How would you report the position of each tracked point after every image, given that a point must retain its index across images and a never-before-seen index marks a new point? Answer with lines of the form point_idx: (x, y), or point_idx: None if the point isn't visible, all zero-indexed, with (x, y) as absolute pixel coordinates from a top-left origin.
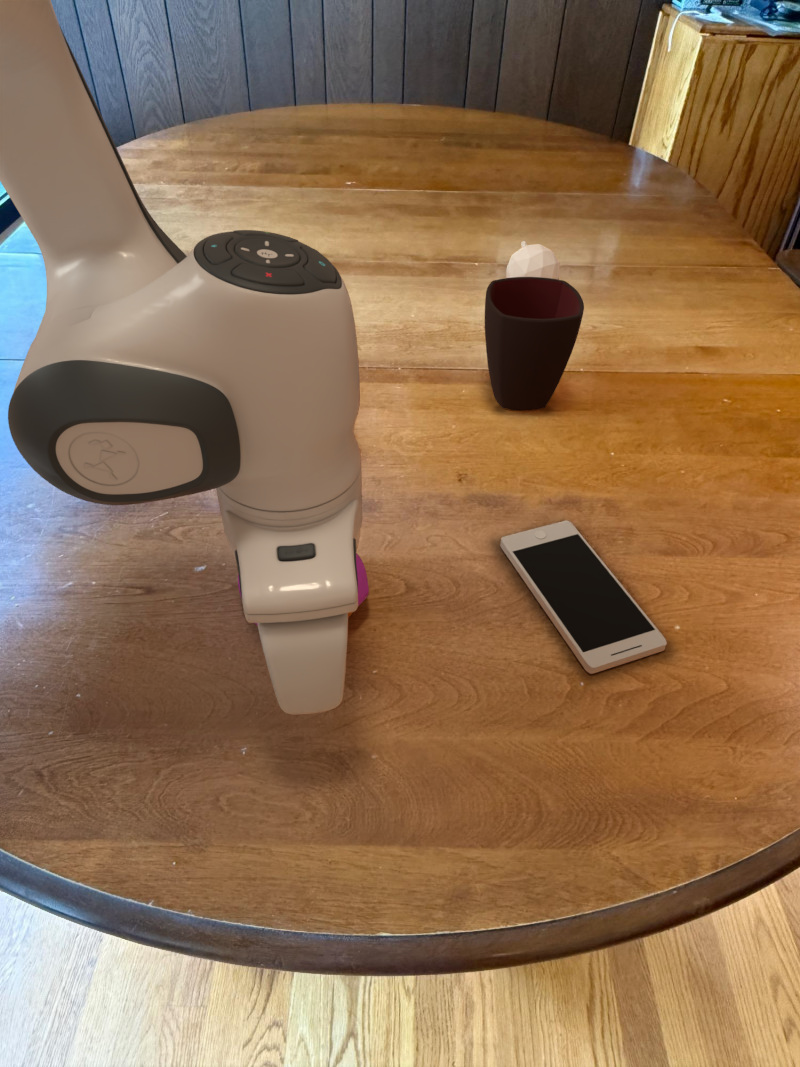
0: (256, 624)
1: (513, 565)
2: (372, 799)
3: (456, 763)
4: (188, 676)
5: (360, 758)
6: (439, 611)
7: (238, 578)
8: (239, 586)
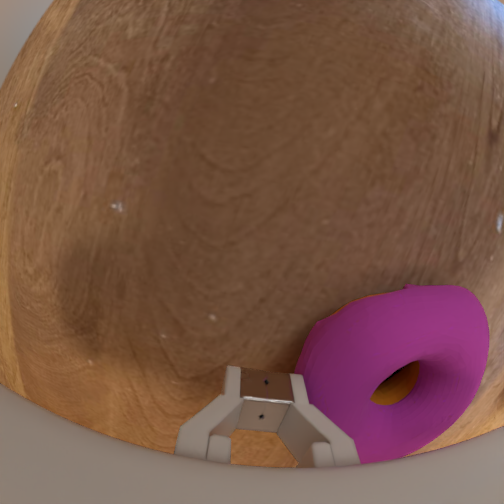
0: (358, 302)
1: None
2: (46, 338)
3: (85, 412)
4: (312, 136)
5: (87, 349)
6: (276, 463)
7: (462, 295)
8: (447, 294)
